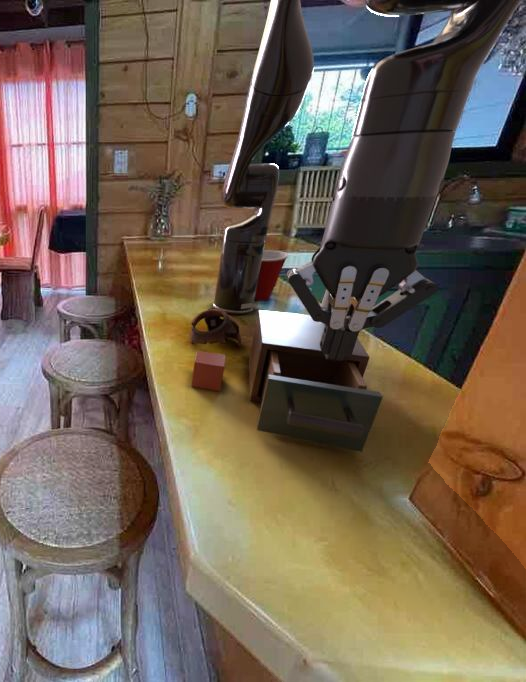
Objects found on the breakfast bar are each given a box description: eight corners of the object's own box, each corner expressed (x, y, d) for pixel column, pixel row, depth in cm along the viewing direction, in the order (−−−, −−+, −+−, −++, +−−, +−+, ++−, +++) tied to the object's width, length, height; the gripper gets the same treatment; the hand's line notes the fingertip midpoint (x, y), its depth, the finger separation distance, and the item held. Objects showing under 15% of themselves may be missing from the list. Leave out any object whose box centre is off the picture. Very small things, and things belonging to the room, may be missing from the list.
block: (194, 373, 65) (197, 350, 64) (221, 378, 64) (225, 354, 62) (191, 386, 62) (194, 362, 60) (220, 391, 60) (224, 366, 58)
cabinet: (348, 418, 53) (370, 357, 49) (249, 400, 58) (261, 342, 54) (329, 370, 65) (344, 318, 61) (249, 359, 70) (258, 309, 66)
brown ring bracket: (251, 356, 72) (240, 325, 68) (202, 371, 75) (189, 343, 71) (234, 319, 81) (223, 290, 77) (191, 334, 85) (179, 307, 80)
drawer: (373, 479, 41) (397, 421, 38) (258, 453, 46) (270, 398, 42) (338, 394, 57) (353, 348, 53) (254, 381, 61) (263, 336, 58)
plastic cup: (230, 291, 108) (236, 249, 103) (268, 290, 108) (276, 248, 103) (244, 303, 98) (252, 258, 93) (286, 303, 98) (297, 257, 93)
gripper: (457, 188, 35) (394, 352, 42) (296, 188, 40) (265, 336, 47) (503, 193, 29) (420, 385, 36) (306, 193, 34) (268, 363, 41)
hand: (332, 357), depth 42 cm, fingers closed
